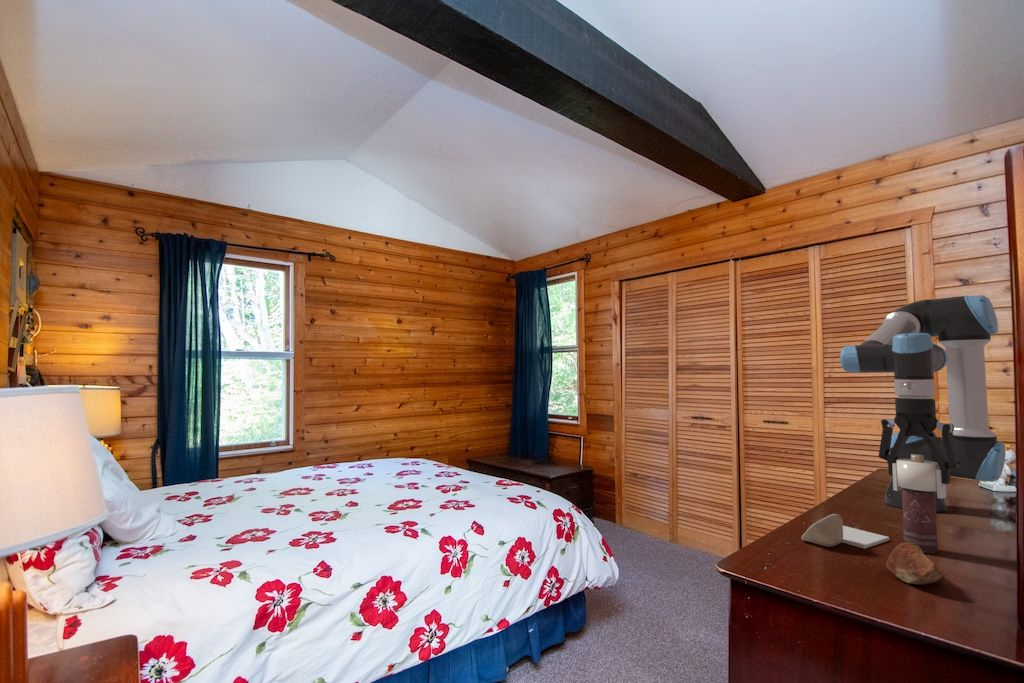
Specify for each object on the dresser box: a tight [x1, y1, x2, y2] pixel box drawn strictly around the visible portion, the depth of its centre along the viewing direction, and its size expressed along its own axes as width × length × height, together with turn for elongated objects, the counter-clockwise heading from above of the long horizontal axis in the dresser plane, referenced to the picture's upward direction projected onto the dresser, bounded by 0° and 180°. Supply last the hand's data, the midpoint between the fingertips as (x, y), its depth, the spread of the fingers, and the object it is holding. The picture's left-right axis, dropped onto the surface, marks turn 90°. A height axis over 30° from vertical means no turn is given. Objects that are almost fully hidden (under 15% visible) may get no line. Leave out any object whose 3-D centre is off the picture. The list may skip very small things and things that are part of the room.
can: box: [902, 488, 939, 555], centre depth 118 cm, size 6×6×14 cm
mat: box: [841, 525, 890, 549], centre depth 126 cm, size 12×12×1 cm
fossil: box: [885, 542, 943, 586], centre depth 100 cm, size 13×8×10 cm
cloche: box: [896, 454, 940, 491], centre depth 118 cm, size 8×8×8 cm
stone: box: [801, 513, 844, 548], centre depth 121 cm, size 10×7×10 cm
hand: (919, 493), depth 118 cm, fingers closed on cloche, 8 cm apart
